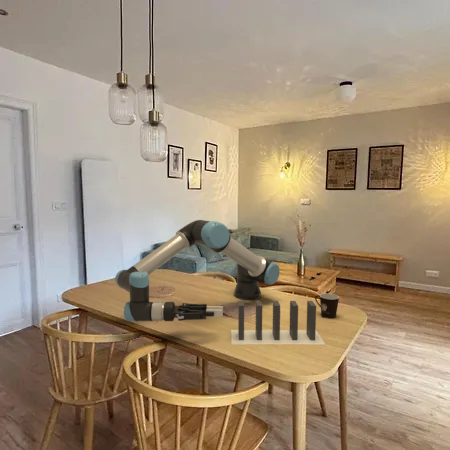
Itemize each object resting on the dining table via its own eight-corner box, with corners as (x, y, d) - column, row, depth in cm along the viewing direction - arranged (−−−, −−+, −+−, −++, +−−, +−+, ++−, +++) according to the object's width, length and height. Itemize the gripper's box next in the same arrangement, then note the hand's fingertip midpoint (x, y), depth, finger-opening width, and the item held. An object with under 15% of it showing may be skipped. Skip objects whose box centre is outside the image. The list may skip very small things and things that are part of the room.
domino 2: (256, 340, 128) (257, 305, 127) (255, 333, 134) (255, 300, 133) (261, 340, 128) (262, 305, 127) (260, 333, 134) (260, 300, 133)
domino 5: (310, 340, 128) (311, 305, 127) (306, 333, 134) (307, 300, 133) (315, 340, 128) (316, 305, 127) (311, 333, 134) (312, 300, 133)
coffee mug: (341, 319, 150) (342, 298, 149) (324, 321, 149) (324, 299, 148) (329, 310, 162) (330, 291, 161) (313, 311, 160) (313, 292, 159)
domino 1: (238, 340, 128) (239, 305, 127) (238, 333, 134) (238, 300, 133) (244, 340, 128) (244, 305, 127) (243, 333, 134) (243, 300, 133)
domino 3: (274, 340, 128) (275, 305, 127) (272, 333, 134) (273, 300, 133) (279, 340, 128) (280, 305, 127) (277, 333, 134) (277, 300, 133)
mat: (231, 331, 138) (231, 329, 138) (316, 331, 138) (316, 330, 138) (231, 345, 125) (231, 344, 125) (325, 345, 125) (325, 344, 125)
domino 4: (292, 340, 128) (293, 305, 127) (289, 333, 134) (290, 300, 133) (297, 340, 128) (298, 305, 127) (294, 333, 134) (295, 300, 133)
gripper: (167, 313, 139) (222, 313, 139) (160, 328, 123) (222, 328, 123) (167, 296, 138) (222, 296, 138) (159, 309, 122) (222, 309, 122)
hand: (222, 311), depth 130 cm, fingers open, 3 cm apart
